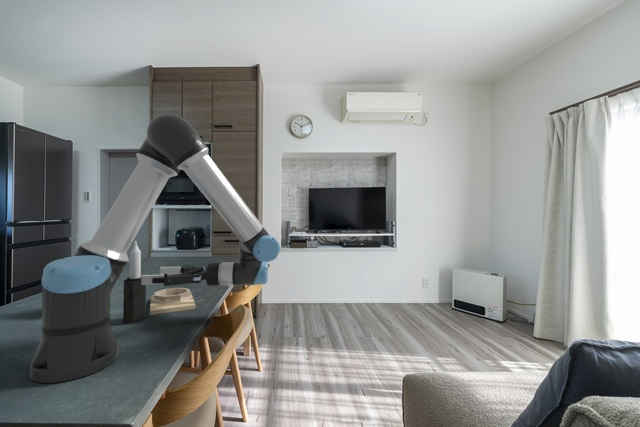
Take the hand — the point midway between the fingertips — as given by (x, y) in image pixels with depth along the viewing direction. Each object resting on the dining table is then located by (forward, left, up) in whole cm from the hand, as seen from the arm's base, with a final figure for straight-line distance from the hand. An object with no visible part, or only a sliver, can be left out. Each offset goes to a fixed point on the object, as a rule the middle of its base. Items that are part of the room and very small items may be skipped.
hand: (151, 275), depth 93 cm
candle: (+1, +5, -14) cm, 15 cm away
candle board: (+14, -6, -14) cm, 21 cm away
